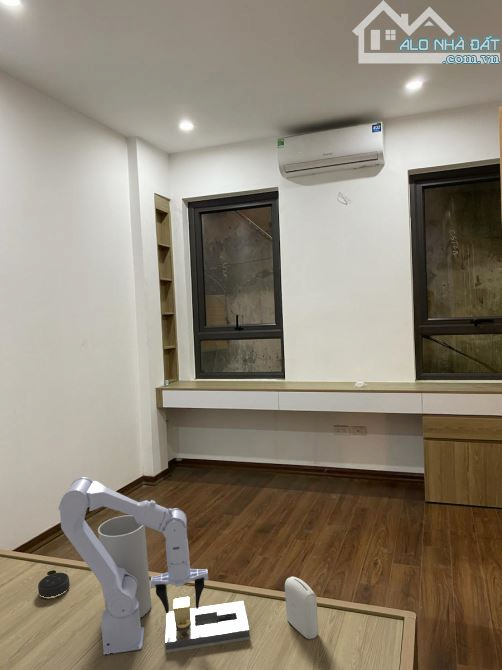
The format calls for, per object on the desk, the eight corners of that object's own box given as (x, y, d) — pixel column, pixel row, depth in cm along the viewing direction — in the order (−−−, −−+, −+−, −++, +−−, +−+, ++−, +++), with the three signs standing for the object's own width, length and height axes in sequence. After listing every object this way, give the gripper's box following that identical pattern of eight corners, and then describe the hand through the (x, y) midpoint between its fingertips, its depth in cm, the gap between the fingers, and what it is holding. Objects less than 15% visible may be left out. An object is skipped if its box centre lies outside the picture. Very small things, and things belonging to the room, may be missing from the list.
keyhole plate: (165, 653, 121) (165, 642, 121) (167, 621, 133) (166, 612, 133) (249, 639, 124) (249, 629, 124) (244, 609, 136) (243, 600, 135)
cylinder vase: (97, 622, 134) (89, 535, 132) (120, 595, 146) (112, 514, 144) (139, 627, 131) (131, 537, 129) (158, 598, 143) (151, 516, 141)
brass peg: (175, 630, 125) (173, 608, 125) (175, 620, 129) (173, 599, 128) (191, 628, 126) (189, 606, 125) (190, 617, 130) (189, 596, 129)
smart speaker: (40, 587, 153) (39, 575, 153) (70, 580, 156) (69, 568, 156) (37, 603, 145) (36, 591, 145) (69, 596, 148) (68, 584, 147)
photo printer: (284, 619, 130) (281, 575, 129) (297, 613, 133) (295, 570, 132) (307, 642, 122) (304, 595, 121) (321, 635, 124) (318, 588, 123)
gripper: (148, 571, 121) (153, 623, 122) (207, 562, 123) (211, 614, 124) (150, 556, 128) (154, 605, 129) (205, 548, 130) (209, 597, 131)
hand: (182, 608), depth 127 cm, fingers open, 7 cm apart
